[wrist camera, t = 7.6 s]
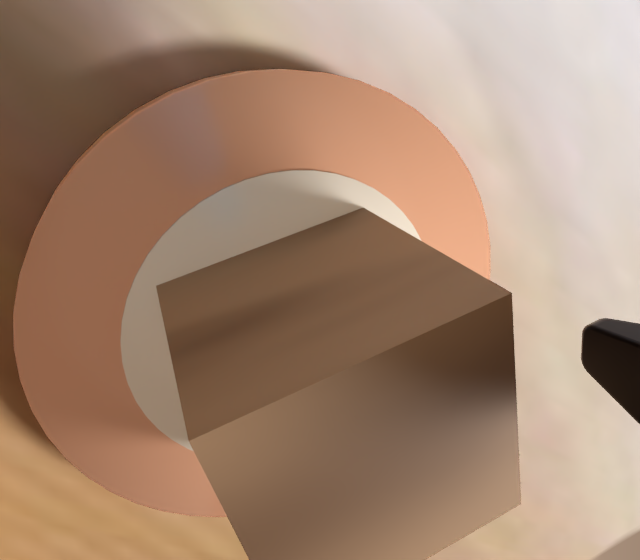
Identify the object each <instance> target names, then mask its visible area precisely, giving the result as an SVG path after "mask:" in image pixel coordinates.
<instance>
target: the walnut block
mask: <svg viewBox="0 0 640 560" xmlns="http://www.w3.org/2000/svg"><path fill="white" fill-rule="evenodd" d="M156 289H157V294H158V298H159V303H160V308H161V313H162V317H163V322H164V327H165V332H166V336H167V341H168V346H169V351H170V355H171V360H172V365H173V370H174V374H175V379H176V384H177V388H178V393H179V398H180V403H181V407H182V412H183V417H184V422H185V426H186V431H187V436H188V441H189V443H190V445H191V447H192V449H193V451H194V453H195V455H196V457H197V459H198V460H199V462H200V464H201V466H202V468H203V470H204V472H205V474H206V476H207V478H208V480H209V482H210V484H211V486H212V488H213V490H214V492H215V494H216V496H217V498H218V499H219V501H220V503H221V505H222V507H223V509H224V511H225V513H226V515H227V517H228V519H229V521H230V523H231V525H232V527H233V529H234V531H235V533H236V535H237V536H238V538H239V540H240V542H241V544H242V546H243V548H244V550H245V552H246V554H247V556H248V558H249V560H425V559H427V558H429V557H431V556H432V555H434V554H436V553H438V552H439V551H441V550H443V549H444V548H446V547H448V546H450V545H451V544H453V543H455V542H456V541H458V540H460V539H462V538H463V537H465V536H467V535H468V534H470V533H472V532H474V531H475V530H477V529H479V528H481V527H482V526H484V525H486V524H487V523H489V522H491V521H493V520H494V519H496V518H498V517H499V516H501V515H503V514H505V513H506V512H508V511H510V510H511V509H513V508H515V507H517V506H518V505H520V504H521V492H520V469H519V447H518V424H517V402H516V379H515V357H514V334H513V311H512V293H511V292H509V291H507V290H506V289H504V288H502V287H500V286H499V285H497V284H495V283H493V282H492V281H490V280H488V279H486V278H485V277H483V276H481V275H480V274H478V273H476V272H474V271H473V270H471V269H469V268H467V267H466V266H464V265H462V264H460V263H459V262H457V261H455V260H454V259H452V258H450V257H448V256H447V255H445V254H443V253H441V252H440V251H438V250H436V249H434V248H433V247H431V246H429V245H428V244H426V243H424V242H422V241H421V240H419V239H417V238H415V237H414V236H412V235H410V234H408V233H407V232H405V231H403V230H402V229H400V228H398V227H396V226H395V225H393V224H391V223H389V222H388V221H386V220H384V219H383V218H381V217H379V216H377V215H376V214H374V213H372V212H370V211H369V210H367V209H365V208H361V209H358V210H355V211H353V212H350V213H347V214H345V215H342V216H339V217H337V218H334V219H331V220H329V221H326V222H324V223H321V224H318V225H316V226H313V227H310V228H308V229H305V230H302V231H300V232H297V233H294V234H292V235H289V236H287V237H284V238H281V239H279V240H276V241H273V242H271V243H268V244H265V245H263V246H260V247H257V248H255V249H252V250H250V251H247V252H244V253H242V254H239V255H236V256H234V257H231V258H228V259H226V260H223V261H220V262H218V263H215V264H213V265H210V266H207V267H205V268H202V269H199V270H197V271H194V272H191V273H189V274H186V275H183V276H181V277H178V278H176V279H173V280H170V281H168V282H165V283H162V284H160V285H157V286H156Z"/></svg>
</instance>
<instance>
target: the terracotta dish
mask: <svg viewBox="0 0 640 560" xmlns="http://www.w3.org/2000/svg"><path fill="white" fill-rule="evenodd" d="M361 208H365V209H367V210H369V211H370V212H372V213H374V214H376V215H377V216H379V217H381V218H383V219H384V220H386V221H388V222H389V223H391V224H393V225H395V226H396V227H398V228H400V229H402V230H403V231H405V232H407V233H408V234H410V235H412V236H414V237H415V238H417V239H419V240H421V241H422V242H424V243H426V244H428V245H429V246H431V247H433V248H434V249H436V250H438V251H440V252H441V253H443V254H445V255H447V256H448V257H450V258H452V259H454V260H455V261H457V262H459V263H460V264H462V265H464V266H466V267H467V268H469V269H471V270H473V271H474V272H476V273H478V274H480V275H481V276H483V277H485V278H486V279H488V280H489V278H490V241H489V233H488V226H487V220H486V216H485V212H484V209H483V205H482V201H481V198H480V195H479V192H478V190H477V188H476V185H475V183H474V181H473V178H472V176H471V174H470V172H469V170H468V168H467V167H466V165H465V164H464V162H463V160H462V159H461V157H460V155H459V154H458V152H457V151H456V149H455V148H454V147H453V146H452V144H451V143H450V142H449V141H448V140H447V139H446V137H445V136H444V135H443V134H442V133H441V131H440V130H439V129H438V128H437V127H436V126H435V125H433V124H432V123H431V122H430V121H429V120H428V119H426V118H425V117H424V116H423V115H422V114H421V113H419V112H418V111H417V110H416V109H414V108H413V107H411V106H410V105H408V104H406V103H405V102H403V101H401V100H400V99H398V98H397V97H395V96H393V95H392V94H390V93H388V92H385V91H383V90H381V89H378V88H376V87H373V86H371V85H369V84H366V83H364V82H361V81H359V80H354V79H350V78H346V77H342V76H338V75H334V74H330V73H324V72H312V71H301V70H288V69H261V70H245V71H236V72H231V73H226V74H222V75H217V76H212V77H207V78H203V79H200V80H198V81H195V82H192V83H189V84H187V85H184V86H181V87H179V88H176V89H173V90H170V91H168V92H166V93H164V94H162V95H161V96H159V97H157V98H155V99H153V100H151V101H149V102H148V103H146V104H144V105H142V106H140V107H138V108H137V109H135V110H133V111H132V112H131V113H129V114H128V115H127V116H125V117H124V118H123V119H121V120H120V121H119V122H117V123H116V124H115V125H113V126H112V127H111V128H109V129H108V130H107V131H105V132H104V133H103V134H102V135H101V136H100V137H99V138H98V139H97V140H96V141H95V142H94V143H93V144H92V145H91V146H90V147H89V148H88V149H87V150H86V151H85V152H84V153H83V154H82V155H81V156H80V157H79V158H78V159H77V161H76V162H75V163H74V165H73V166H72V167H71V169H70V170H69V172H68V173H67V174H66V176H65V177H64V178H63V180H62V181H61V182H60V184H59V185H58V187H57V188H56V189H55V191H54V193H53V195H52V197H51V199H50V201H49V203H48V205H47V207H46V208H45V210H44V212H43V214H42V216H41V218H40V220H39V222H38V224H37V227H36V229H35V231H34V234H33V236H32V238H31V241H30V244H29V247H28V250H27V253H26V256H25V259H24V262H23V265H22V268H21V271H20V274H19V278H18V285H17V291H16V297H15V304H14V310H13V338H14V352H15V357H16V363H17V368H18V373H19V378H20V382H21V384H22V387H23V390H24V392H25V395H26V398H27V400H28V403H29V406H30V408H31V411H32V412H33V414H34V416H35V417H36V419H37V421H38V422H39V424H40V426H41V427H42V429H43V431H44V432H45V434H46V436H47V437H48V438H49V439H50V441H51V442H52V443H53V444H54V445H55V447H56V448H57V449H58V450H59V451H60V452H61V454H62V455H63V456H64V457H65V458H66V459H67V460H68V461H69V462H70V463H71V464H73V465H74V466H75V467H76V468H77V469H78V470H80V471H81V472H82V473H83V474H84V475H85V476H87V477H88V478H89V479H91V480H93V481H94V482H96V483H97V484H99V485H101V486H102V487H104V488H105V489H107V490H109V491H110V492H112V493H114V494H116V495H119V496H121V497H123V498H125V499H128V500H130V501H132V502H134V503H137V504H140V505H143V506H147V507H150V508H154V509H157V510H161V511H164V512H171V513H177V514H183V515H189V516H206V517H226V516H227V515H226V513H225V511H224V509H223V507H222V505H221V503H220V501H219V499H218V498H217V496H216V494H215V492H214V490H213V488H212V486H211V484H210V482H209V480H208V478H207V476H206V474H205V472H204V470H203V468H202V466H201V464H200V462H199V460H198V459H197V457H196V455H195V453H194V451H193V449H192V447H191V445H190V443H189V441H188V436H187V431H186V426H185V422H184V417H183V412H182V407H181V403H180V398H179V393H178V388H177V384H176V379H175V374H174V370H173V365H172V360H171V355H170V351H169V346H168V341H167V336H166V332H165V327H164V322H163V317H162V313H161V308H160V303H159V298H158V294H157V289H156V286H157V285H160V284H162V283H165V282H168V281H170V280H173V279H176V278H178V277H181V276H183V275H186V274H189V273H191V272H194V271H197V270H199V269H202V268H205V267H207V266H210V265H213V264H215V263H218V262H220V261H223V260H226V259H228V258H231V257H234V256H236V255H239V254H242V253H244V252H247V251H250V250H252V249H255V248H257V247H260V246H263V245H265V244H268V243H271V242H273V241H276V240H279V239H281V238H284V237H287V236H289V235H292V234H294V233H297V232H300V231H302V230H305V229H308V228H310V227H313V226H316V225H318V224H321V223H324V222H326V221H329V220H331V219H334V218H337V217H339V216H342V215H345V214H347V213H350V212H353V211H355V210H358V209H361Z"/></svg>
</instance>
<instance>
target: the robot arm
mask: <svg viewBox="0 0 640 560" xmlns="http://www.w3.org/2000/svg"><path fill="white" fill-rule="evenodd" d="M581 360H582V364H583V366H584V368H585V369H586V371H587V372H588V373H589V374H590V375H591V376H592V377H593V378H594V379H595V380H596V381H597V382H598V383H599V384H600V385H601V386H602V387H603V388H604V389H605V390H606V391H607V392H608V393H609V394H610V395H611V396H612V397H613V398H614V399H615V400H616V401H617V402H618V403H619V404H620V405H621V406H622V407H623V408H624V409H625V410H626V411H627V412H628V413H629V414H630V415H631V416H632V417H633V418H634V419H635V420H636V421H637V422H638V423H639V424H640V324H638V323H632V322H626V321H620V320H614V319H607V318H603V319H599V320H597V321H595V322H593V323H591V324H589V325H587V326H586V327H585V328H584V329H583V333H582V353H581Z"/></svg>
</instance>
